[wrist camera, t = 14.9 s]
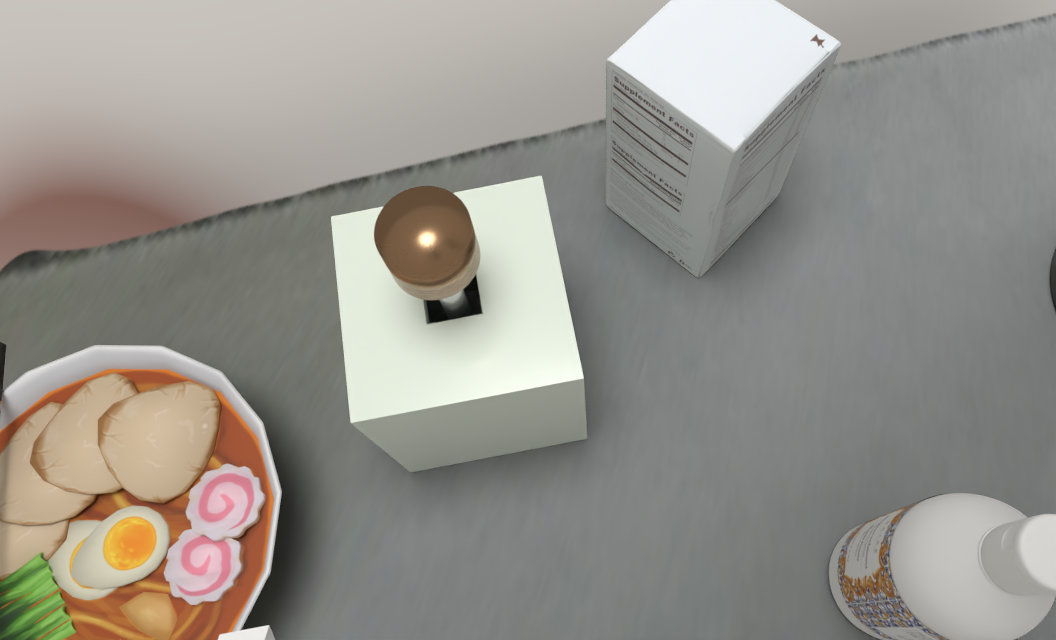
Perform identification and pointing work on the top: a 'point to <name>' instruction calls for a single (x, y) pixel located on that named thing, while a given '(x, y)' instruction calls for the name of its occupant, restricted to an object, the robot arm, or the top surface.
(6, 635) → the ramen bowl
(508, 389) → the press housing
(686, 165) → the supplement box
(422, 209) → the plunger
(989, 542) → the bath foam
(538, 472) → the top surface
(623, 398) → the top surface
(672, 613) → the top surface
